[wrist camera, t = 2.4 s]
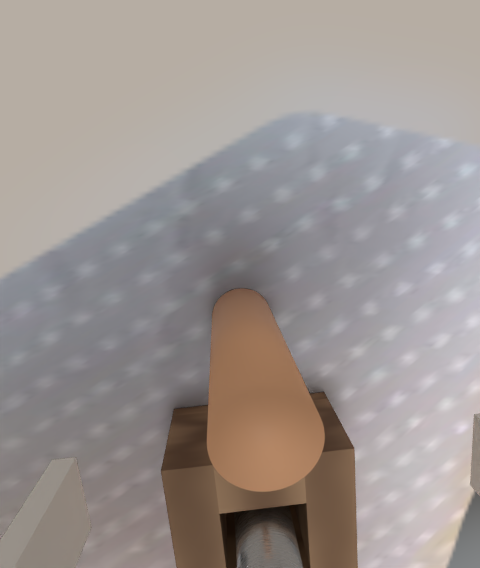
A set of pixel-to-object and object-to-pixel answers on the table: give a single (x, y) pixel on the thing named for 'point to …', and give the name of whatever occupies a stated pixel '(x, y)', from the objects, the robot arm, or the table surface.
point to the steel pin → (266, 539)
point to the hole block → (258, 497)
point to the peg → (257, 400)
